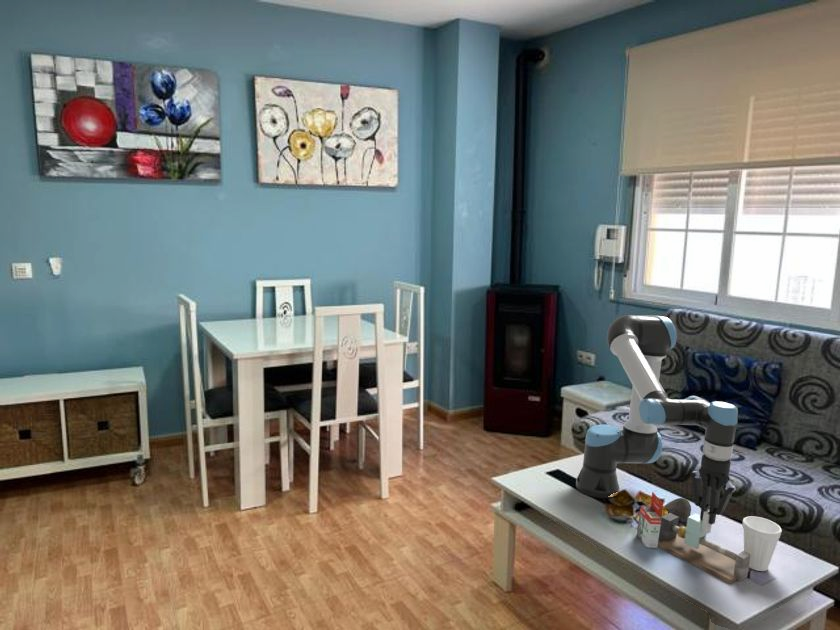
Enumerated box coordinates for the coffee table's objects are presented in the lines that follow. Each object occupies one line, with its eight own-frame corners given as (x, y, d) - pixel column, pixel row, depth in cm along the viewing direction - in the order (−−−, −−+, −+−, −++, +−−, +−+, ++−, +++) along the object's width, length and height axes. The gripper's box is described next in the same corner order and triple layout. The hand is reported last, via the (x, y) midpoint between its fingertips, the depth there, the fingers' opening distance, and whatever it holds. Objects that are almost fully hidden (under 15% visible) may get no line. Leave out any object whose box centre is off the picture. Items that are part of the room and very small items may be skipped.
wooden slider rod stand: (652, 543, 187) (655, 519, 186) (672, 533, 194) (675, 510, 192) (733, 585, 167) (738, 558, 166) (752, 573, 174) (757, 547, 173)
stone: (669, 535, 200) (696, 522, 196) (654, 511, 203) (680, 497, 199) (676, 528, 208) (702, 515, 204) (661, 505, 211) (686, 492, 207)
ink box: (646, 548, 184) (651, 503, 182) (636, 534, 192) (641, 490, 190) (658, 548, 184) (664, 503, 182) (647, 534, 192) (653, 491, 190)
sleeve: (684, 542, 182) (687, 517, 181) (692, 538, 185) (695, 513, 183) (697, 549, 179) (700, 522, 178) (704, 544, 182) (708, 519, 180)
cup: (730, 555, 183) (736, 514, 181) (763, 557, 183) (770, 517, 180) (746, 575, 173) (753, 532, 171) (782, 577, 173) (789, 534, 170)
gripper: (688, 450, 178) (678, 525, 182) (733, 467, 168) (721, 546, 172) (701, 446, 182) (691, 519, 186) (746, 461, 172) (734, 538, 176)
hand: (705, 532), depth 179 cm, fingers closed
